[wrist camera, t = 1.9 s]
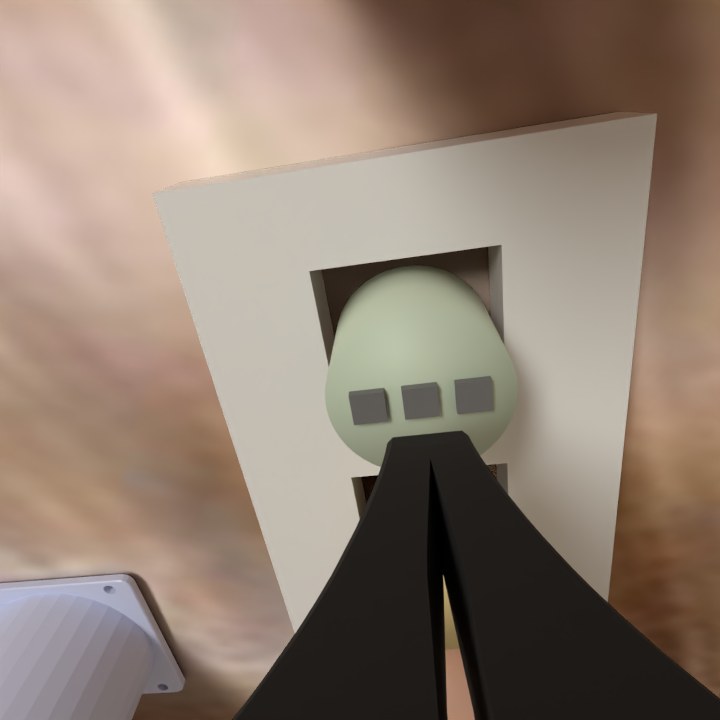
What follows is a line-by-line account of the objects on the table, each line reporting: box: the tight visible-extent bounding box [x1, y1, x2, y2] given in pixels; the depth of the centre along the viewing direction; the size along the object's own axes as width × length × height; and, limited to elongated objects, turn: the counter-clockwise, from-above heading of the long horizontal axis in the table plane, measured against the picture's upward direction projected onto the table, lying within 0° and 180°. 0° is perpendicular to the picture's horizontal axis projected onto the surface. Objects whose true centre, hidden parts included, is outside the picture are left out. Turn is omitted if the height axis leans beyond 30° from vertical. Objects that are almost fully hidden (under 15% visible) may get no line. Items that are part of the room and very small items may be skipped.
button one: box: [445, 648, 475, 720], centre depth 19 cm, size 4×4×3 cm
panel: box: [153, 112, 657, 633], centre depth 18 cm, size 12×24×2 cm, turn 9°
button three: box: [325, 265, 518, 467], centre depth 13 cm, size 4×4×3 cm
